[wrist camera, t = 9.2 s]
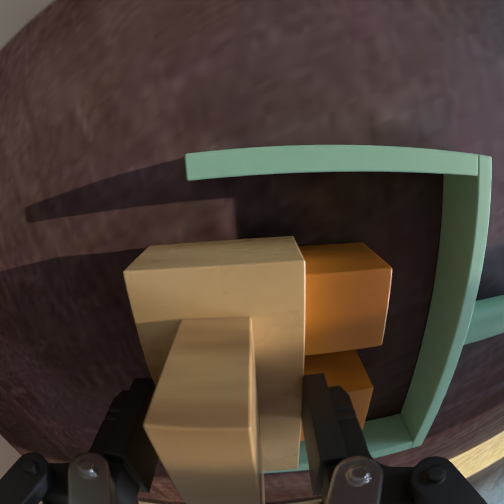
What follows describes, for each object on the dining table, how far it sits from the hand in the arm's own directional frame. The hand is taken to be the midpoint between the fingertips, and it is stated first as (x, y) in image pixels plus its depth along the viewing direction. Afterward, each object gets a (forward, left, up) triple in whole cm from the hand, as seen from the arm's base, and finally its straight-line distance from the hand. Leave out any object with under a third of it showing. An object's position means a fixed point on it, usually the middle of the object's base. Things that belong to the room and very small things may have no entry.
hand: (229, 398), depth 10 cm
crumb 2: (+5, -1, -4) cm, 6 cm away
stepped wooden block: (0, 0, -3) cm, 3 cm away
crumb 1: (+3, +4, -4) cm, 6 cm away
